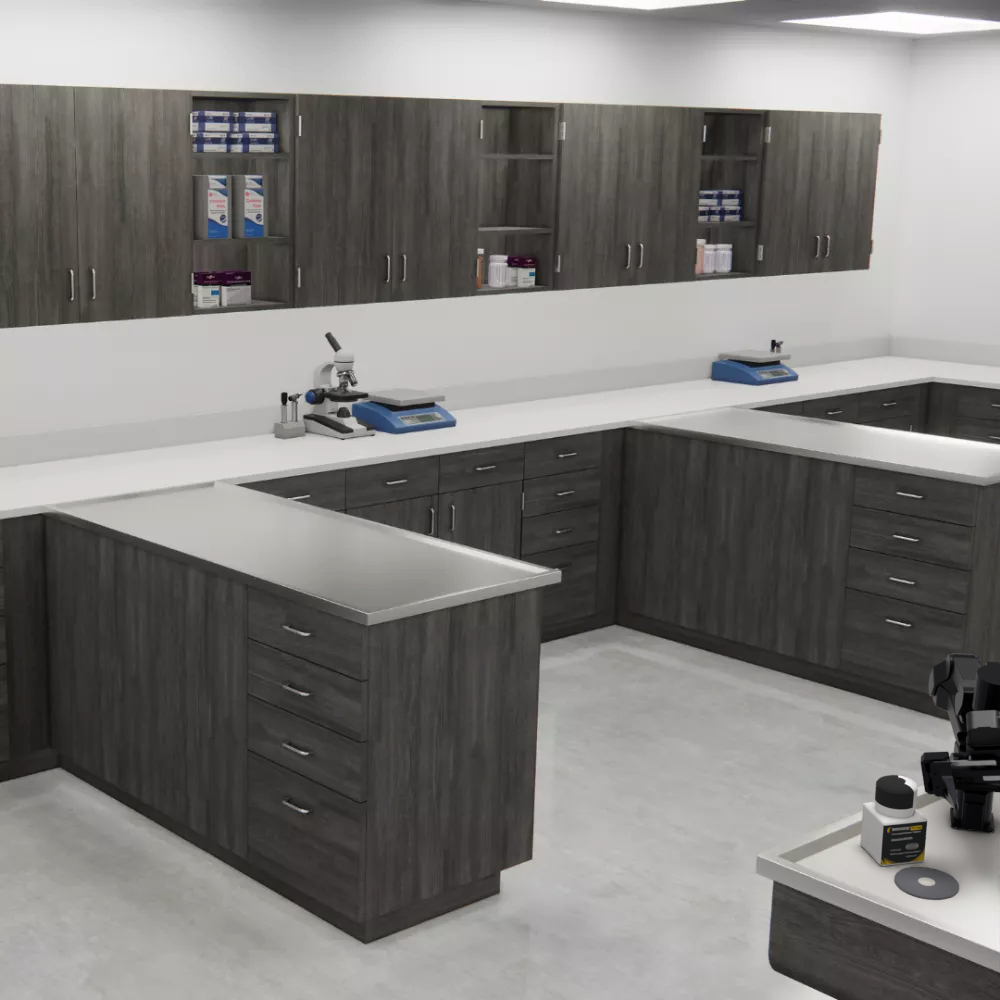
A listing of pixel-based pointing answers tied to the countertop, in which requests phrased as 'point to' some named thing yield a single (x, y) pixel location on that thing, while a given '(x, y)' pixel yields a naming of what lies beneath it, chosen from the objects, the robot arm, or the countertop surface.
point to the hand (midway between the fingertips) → (990, 806)
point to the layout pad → (926, 883)
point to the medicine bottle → (894, 823)
